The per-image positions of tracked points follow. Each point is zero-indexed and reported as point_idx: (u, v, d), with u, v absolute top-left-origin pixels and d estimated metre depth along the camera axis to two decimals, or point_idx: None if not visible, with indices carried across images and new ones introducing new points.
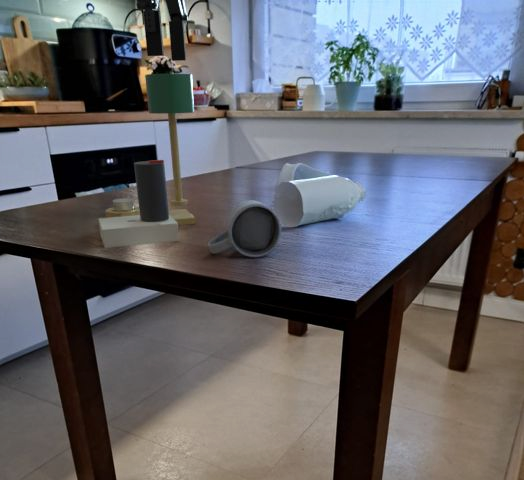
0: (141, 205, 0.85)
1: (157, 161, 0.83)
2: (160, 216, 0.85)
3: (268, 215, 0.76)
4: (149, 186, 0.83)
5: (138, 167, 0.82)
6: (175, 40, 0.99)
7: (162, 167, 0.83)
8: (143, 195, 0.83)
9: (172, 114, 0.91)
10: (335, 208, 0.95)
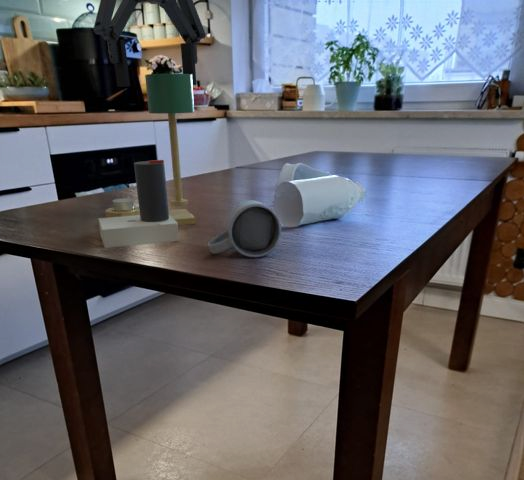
0: (141, 205, 0.85)
1: (157, 161, 0.83)
2: (160, 216, 0.85)
3: (268, 215, 0.76)
4: (149, 186, 0.83)
5: (138, 167, 0.82)
6: (185, 64, 0.91)
7: (162, 167, 0.83)
8: (143, 195, 0.83)
9: (172, 114, 0.91)
10: (335, 208, 0.95)
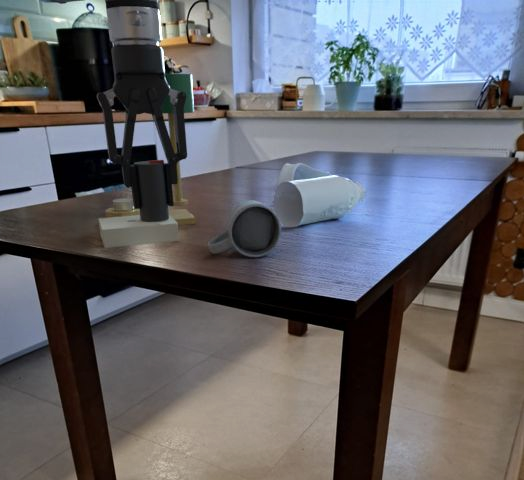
0: (141, 205, 0.85)
1: (157, 161, 0.83)
2: (160, 216, 0.85)
3: (268, 215, 0.76)
4: (149, 186, 0.83)
5: (138, 167, 0.82)
6: None
7: (162, 167, 0.83)
8: (143, 195, 0.83)
9: (172, 114, 0.91)
10: (335, 208, 0.95)
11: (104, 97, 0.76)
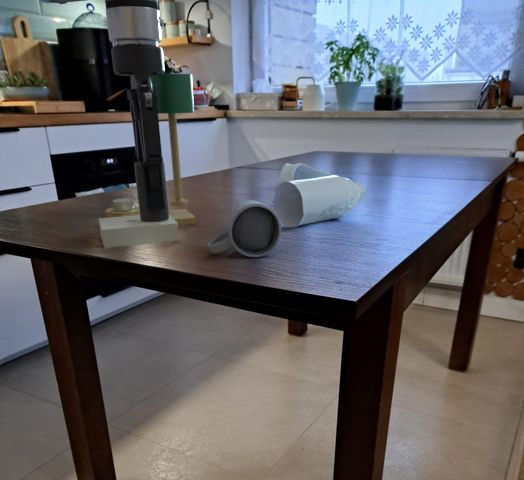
0: None
1: None
2: None
3: (268, 215, 0.76)
4: None
5: None
6: None
7: None
8: (164, 193, 0.85)
9: (172, 114, 0.91)
10: (335, 208, 0.95)
11: None
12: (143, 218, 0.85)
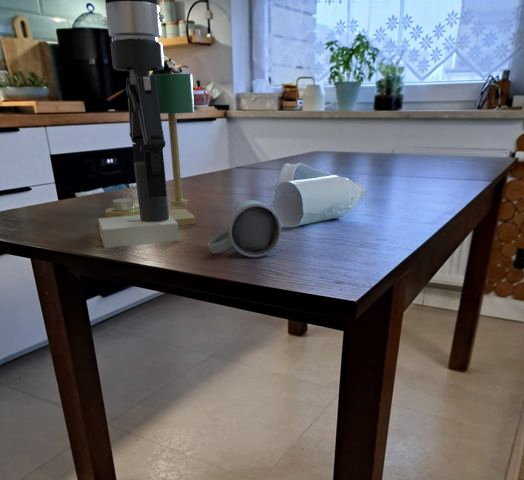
0: (162, 205, 0.85)
1: None
2: None
3: (268, 215, 0.76)
4: None
5: None
6: None
7: None
8: None
9: (172, 114, 0.91)
10: (335, 208, 0.95)
11: None
12: (143, 218, 0.85)
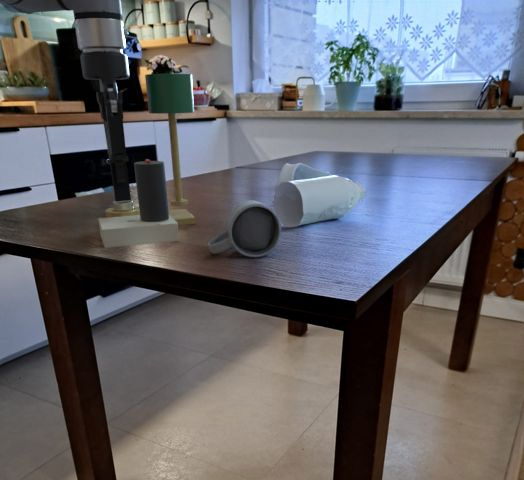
0: (162, 205, 0.85)
1: (149, 160, 0.84)
2: None
3: (268, 215, 0.76)
4: None
5: (160, 167, 0.82)
6: None
7: None
8: (164, 193, 0.85)
9: (172, 114, 0.91)
10: (335, 208, 0.95)
11: None
12: (143, 218, 0.85)
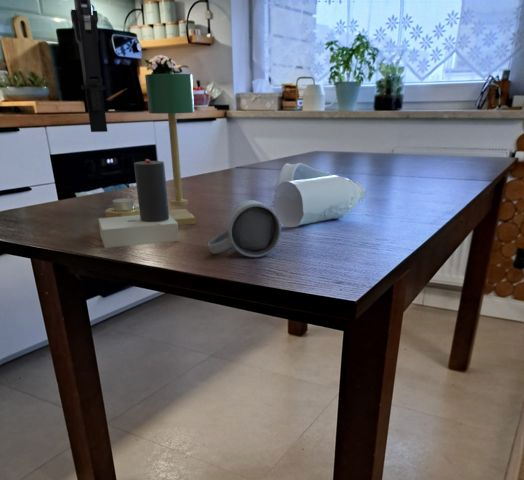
0: (162, 205, 0.85)
1: (149, 160, 0.84)
2: None
3: (268, 215, 0.76)
4: None
5: (160, 167, 0.82)
6: (94, 110, 0.89)
7: None
8: (164, 193, 0.85)
9: (172, 114, 0.91)
10: (335, 208, 0.95)
11: None
12: (143, 218, 0.85)
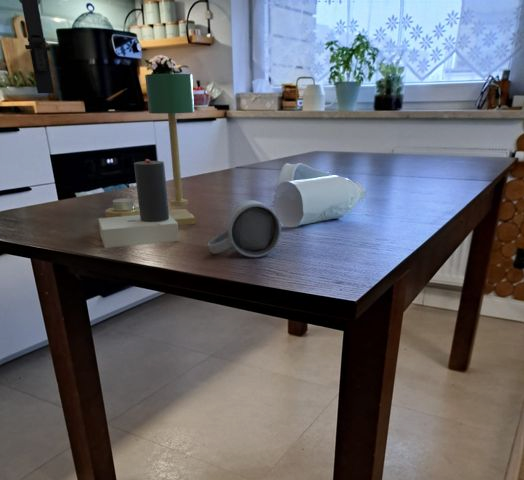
0: (162, 205, 0.85)
1: (149, 160, 0.84)
2: None
3: (268, 215, 0.76)
4: None
5: (160, 167, 0.82)
6: None
7: None
8: (164, 193, 0.85)
9: (172, 114, 0.91)
10: (335, 208, 0.95)
11: None
12: (143, 218, 0.85)
